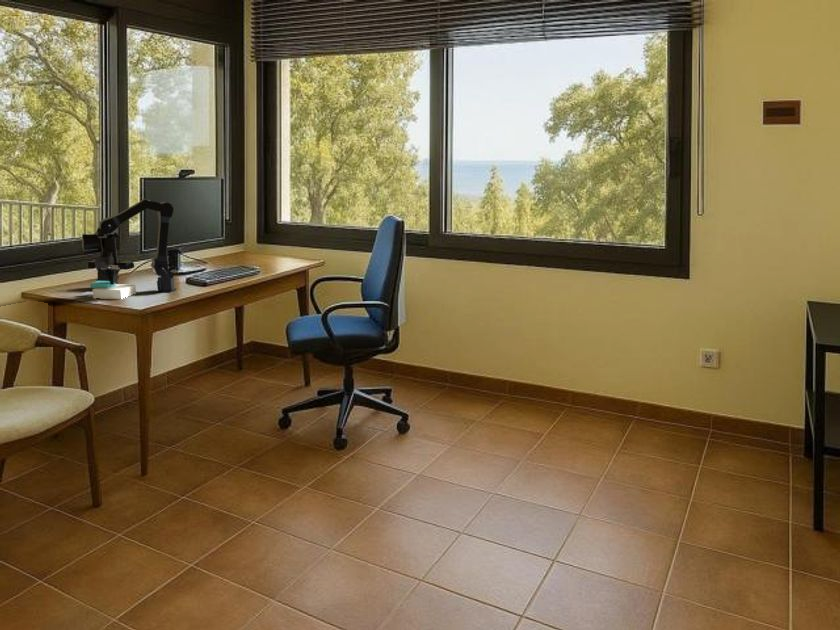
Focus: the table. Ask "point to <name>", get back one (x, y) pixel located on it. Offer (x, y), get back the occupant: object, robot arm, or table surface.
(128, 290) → the white flat block
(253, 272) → the table surface
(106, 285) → the turquoise slab
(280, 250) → the table surface
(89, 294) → the mat
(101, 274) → the black stepped slab
